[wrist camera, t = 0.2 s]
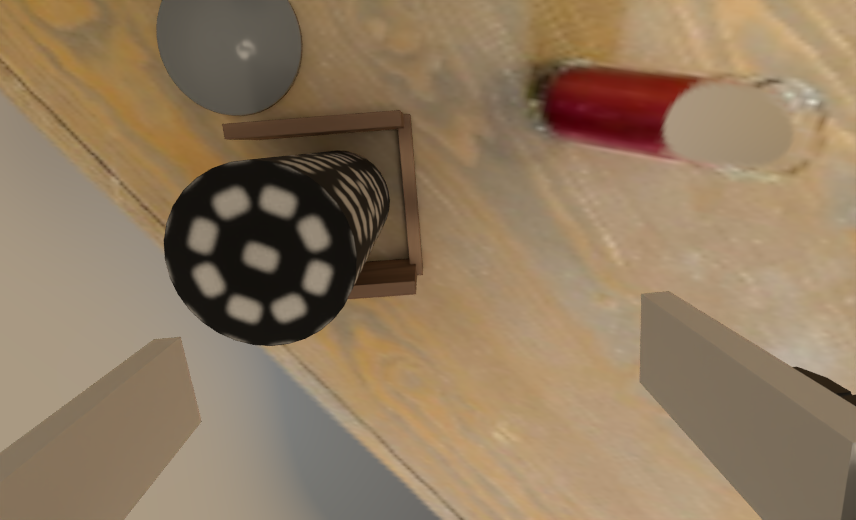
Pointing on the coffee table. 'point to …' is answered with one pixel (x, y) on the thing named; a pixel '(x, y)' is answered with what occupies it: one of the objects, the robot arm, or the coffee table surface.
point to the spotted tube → (274, 242)
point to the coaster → (230, 51)
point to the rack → (403, 272)
